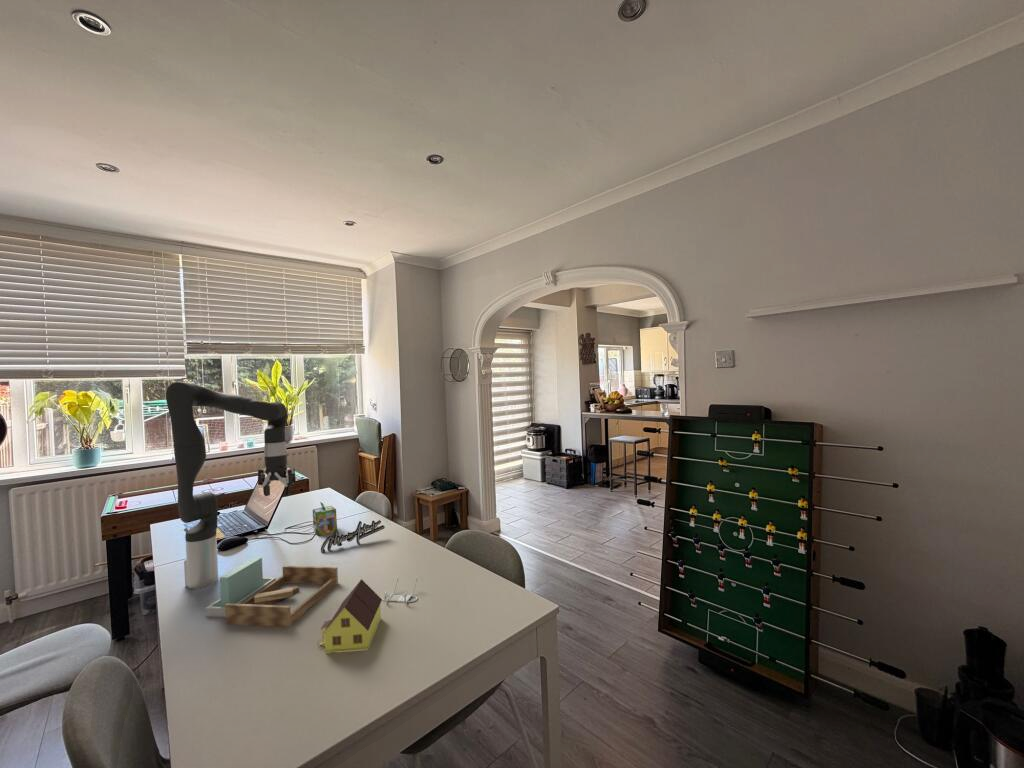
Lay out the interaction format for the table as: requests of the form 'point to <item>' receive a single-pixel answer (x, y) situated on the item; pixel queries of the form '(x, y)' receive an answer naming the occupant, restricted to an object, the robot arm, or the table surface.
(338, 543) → the nameplate
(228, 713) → the table surface
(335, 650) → the house model
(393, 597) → the wall mount rack
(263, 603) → the offcut long
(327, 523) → the juice box
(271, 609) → the brown wooden open box
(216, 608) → the tray
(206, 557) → the robot arm
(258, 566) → the mint green rectangular block
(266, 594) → the offcut short
